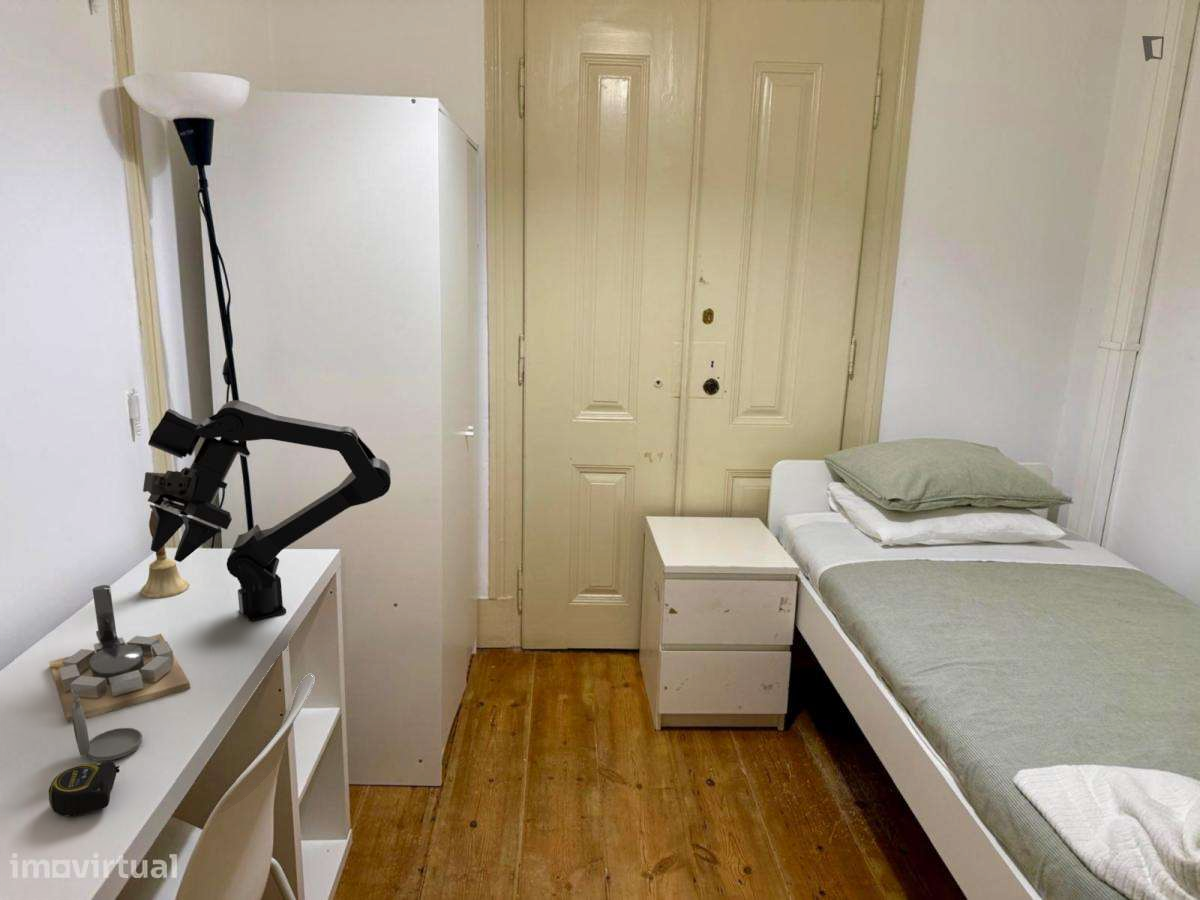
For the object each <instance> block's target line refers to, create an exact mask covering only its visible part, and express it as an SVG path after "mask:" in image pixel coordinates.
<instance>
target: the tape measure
mask: <svg viewBox="0 0 1200 900" xmlns="http://www.w3.org/2000/svg"><path fill="white" fill-rule="evenodd" d="M119 768H120V765H117V766H116V763H115V762H114V761H113V760H105V761H102V762H101V763H99V764H96V763H83V764H79V765H75V766H73V767H69V768H67V769H65V770H64V771H62V772H60V773H59V774H58V775H57V776H56V777H54V778H53V780H52V781H51V783H50V786H49V787H48V801H49V806H50V807H51V810H52V811H53V812H54V813H56V814H57V815H59V816H63V817H71V818H72V817H79V816H81V815H85V814H89V813H92V812H93V813H94V812H96V811H97V812H98V811H100V810H103V809H105V808H107V807H108V805H109V804H110V800H111V792H112V789H113V788H114V784H115V780H116V777H117V774H118V773H120V769H119Z"/></svg>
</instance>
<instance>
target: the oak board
mask: <svg viewBox="0 0 1200 900" xmlns="http://www.w3.org/2000/svg"><path fill="white" fill-rule="evenodd" d="M149 637H154V638H159V642H160V643H161V642H165V641H166V639H165V638H164V636H163V635H162V633H159V634H156V635H155V634H154V635H151V636H149ZM127 642H128V641H127ZM127 642H125V644H127ZM93 650H94V651H95V649H93ZM71 656H72V655H70V656H65V657H62V658H57V659H54V660H49V669H50V671H51V674H52V675H51V676H52V678H53V681H54V684H55V686H56V690H57V693H58V696H59V700H60V702H61V706H62V710H63V712H64V716H65V719H66V722H67V724H70V723H71V724H72V723H73V720H72V712H71V707H72V706H73V705H75V703H74V698H73V696H72V693H71V690H70V691H66V692H64V689H63V686H62V683H61V680H60V674H59V668H62V667H64V666H63V661H65V660H66V659H68V658H69V657H71ZM173 658H174V663H171V668H172V669H171V670H170V671H168V672H167V673H166V674H165V675H164V676H162V677H161V678H160V679H159V680H158V681H156V682H147V681H142V683H143V688H142V689H138V690H135V691H131V692H128V693H124V694H121V695H117V696H112V694H111V691H110V687H109V685H107V688H108V691H106V692H105V693H104V694H102V695H101V696H100V697H99V698H89V697H79V698H80V705H81V706H82V708H83V711H84V715H85V719H87V718H91V717H95V716H97V715H98V716H99V715H102V714H105V713H109V712H111V711H112V712H113V711H115V710H118V709H119V710H120V709H123V708H126V707H129V706H134V705H136V704H140V703H144V702H147V701H150V700H153V699H158V698H162V697H164V696H168V695H171V694H175V693H178V692H179V693H180V692H183V691H185V690H186V691H187V690H189V689H191V684H190V683H191V682H190V680H189V678H188V677H187V675H186V674H185V672H184V671H183V668H182V667H181V665H180V664H179V662H178V660H177V659H176V657H175V655H174V654H173ZM152 659H154V657H153V655H152V656H148V655H143V660H144V666H145V665H146V664H147V663H149V662H150V661H151V660H152ZM80 676H88V677H92V672H91V666H90V667H88V668H87V669H86V670H84V671H83V672H81V673H80Z"/></svg>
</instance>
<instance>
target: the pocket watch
mask: <svg viewBox="0 0 1200 900" xmlns="http://www.w3.org/2000/svg"><path fill="white" fill-rule="evenodd" d="M71 693H72V695H73V698H74V703H75V705H73V706H72V707H71V712H72V720H73V722H72V725H73V731H74V735H75V736H74V737H75V742H76V746H77V749H78V753H79V755H80V756H87V757H88V758H89V759H92V760H95V761H99V762H101V761H102V762H106V761H113V760H116V759H119V758H122V757H125V756H127V755H129V754H131V753H133V752H134V751H136V750H137V749H138V748H139V746H140V745H141V744H142V741H143V734H142V732H141V731H140V730H138V729H136V728H133V727H132V728H131V727H119V728H114V729H110V730H107V731H104V732H102V733H99V734H97V735H96V736H94V737H93V738H92V739H90V737H89V731H88V725H87V721H86V718H85V715H84V711H83V708H82V706H81V705H80V698H79V696H78V695H76V694H75V692H74V691H73V689H71Z"/></svg>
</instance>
